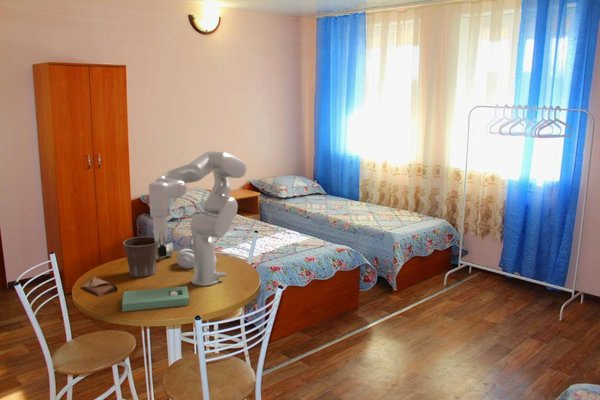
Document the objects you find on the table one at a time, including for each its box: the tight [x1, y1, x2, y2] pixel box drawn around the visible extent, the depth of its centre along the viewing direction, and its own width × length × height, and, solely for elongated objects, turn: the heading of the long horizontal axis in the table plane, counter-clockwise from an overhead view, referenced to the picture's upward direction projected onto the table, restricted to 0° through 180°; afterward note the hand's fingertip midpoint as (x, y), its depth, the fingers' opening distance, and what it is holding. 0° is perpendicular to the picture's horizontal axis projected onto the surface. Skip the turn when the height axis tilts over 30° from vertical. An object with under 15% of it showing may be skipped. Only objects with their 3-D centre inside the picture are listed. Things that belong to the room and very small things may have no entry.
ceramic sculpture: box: [156, 241, 174, 261], centre depth 275 cm, size 11×9×15 cm
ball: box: [169, 291, 178, 296], centre depth 220 cm, size 4×4×4 cm
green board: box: [121, 285, 190, 313], centre depth 217 cm, size 26×14×3 cm, turn 105°
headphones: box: [176, 248, 218, 269], centre depth 265 cm, size 18×8×20 cm
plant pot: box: [122, 236, 158, 278], centre depth 250 cm, size 16×16×16 cm
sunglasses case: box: [79, 276, 118, 297], centre depth 231 cm, size 18×7×7 cm, turn 52°
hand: (162, 255), depth 216 cm, fingers closed
